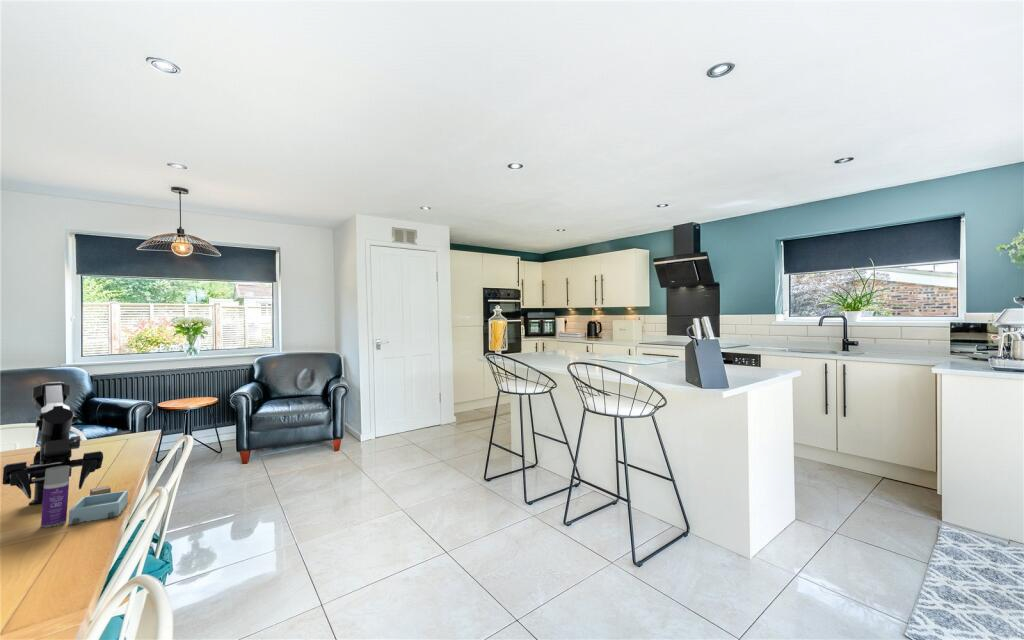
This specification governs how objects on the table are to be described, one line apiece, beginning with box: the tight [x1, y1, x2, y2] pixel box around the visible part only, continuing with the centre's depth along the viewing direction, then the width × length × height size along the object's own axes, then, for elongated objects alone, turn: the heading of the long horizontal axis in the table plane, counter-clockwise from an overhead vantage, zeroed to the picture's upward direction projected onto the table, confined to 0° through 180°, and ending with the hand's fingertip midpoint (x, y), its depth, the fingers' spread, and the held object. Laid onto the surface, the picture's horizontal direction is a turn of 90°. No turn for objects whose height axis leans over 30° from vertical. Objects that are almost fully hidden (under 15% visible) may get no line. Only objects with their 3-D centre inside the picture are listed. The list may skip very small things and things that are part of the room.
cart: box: [68, 490, 129, 526], centre depth 120 cm, size 15×10×4 cm
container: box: [40, 465, 70, 528], centre depth 113 cm, size 5×5×15 cm
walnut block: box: [89, 485, 112, 496], centre depth 129 cm, size 4×4×4 cm
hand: (55, 493), depth 112 cm, fingers open, 9 cm apart
